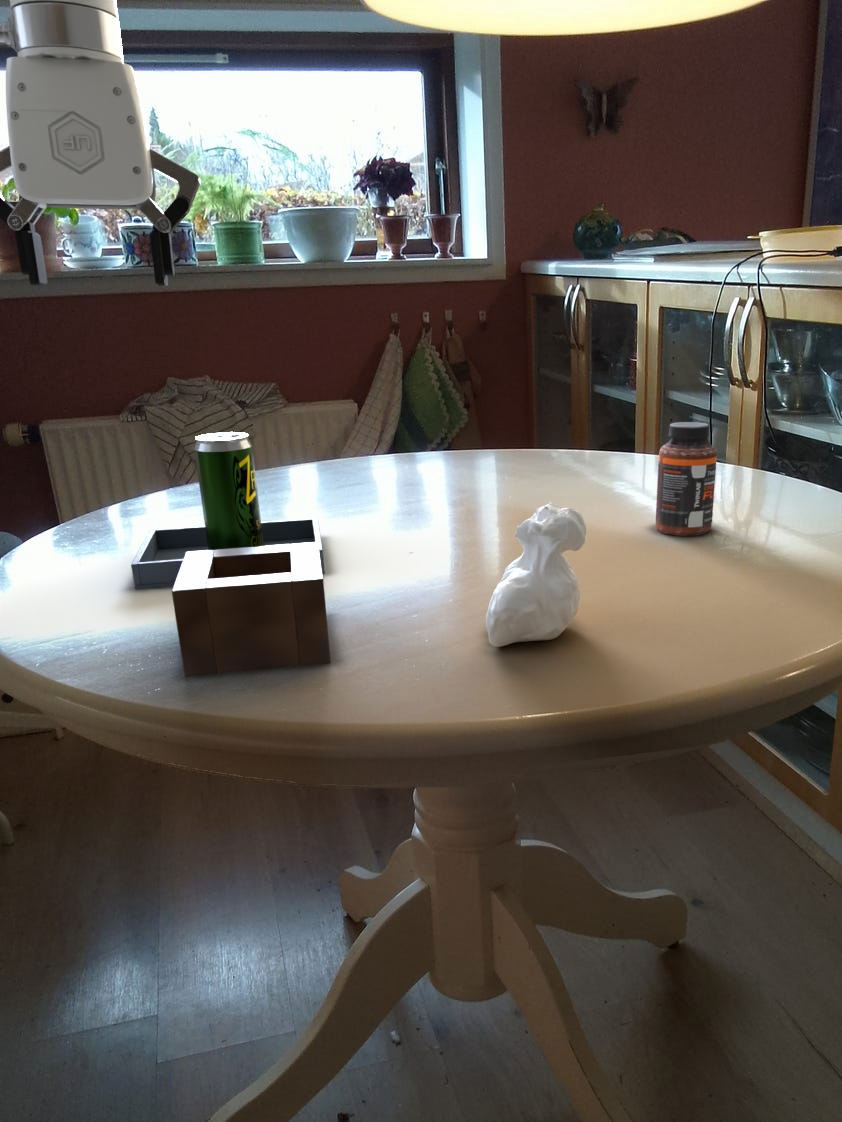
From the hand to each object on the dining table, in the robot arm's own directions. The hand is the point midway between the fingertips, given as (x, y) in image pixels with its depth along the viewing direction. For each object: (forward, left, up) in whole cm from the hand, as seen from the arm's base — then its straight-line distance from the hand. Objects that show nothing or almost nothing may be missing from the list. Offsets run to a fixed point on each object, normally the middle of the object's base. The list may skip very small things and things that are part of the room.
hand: (101, 285), depth 76 cm
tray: (+7, +5, -26) cm, 28 cm away
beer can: (+8, +5, -26) cm, 27 cm away
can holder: (+10, -19, -26) cm, 34 cm away
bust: (+31, -22, -26) cm, 46 cm away
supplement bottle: (+54, +4, -26) cm, 61 cm away
